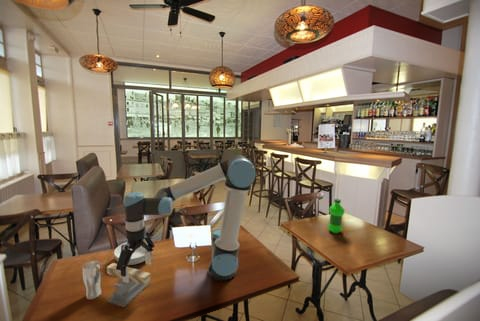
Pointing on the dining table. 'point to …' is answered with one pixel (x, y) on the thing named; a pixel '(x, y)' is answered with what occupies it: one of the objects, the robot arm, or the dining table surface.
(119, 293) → the slate ridge
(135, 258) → the serving bowl
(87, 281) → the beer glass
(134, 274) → the beech bar
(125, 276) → the robot arm
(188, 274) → the dining table surface
